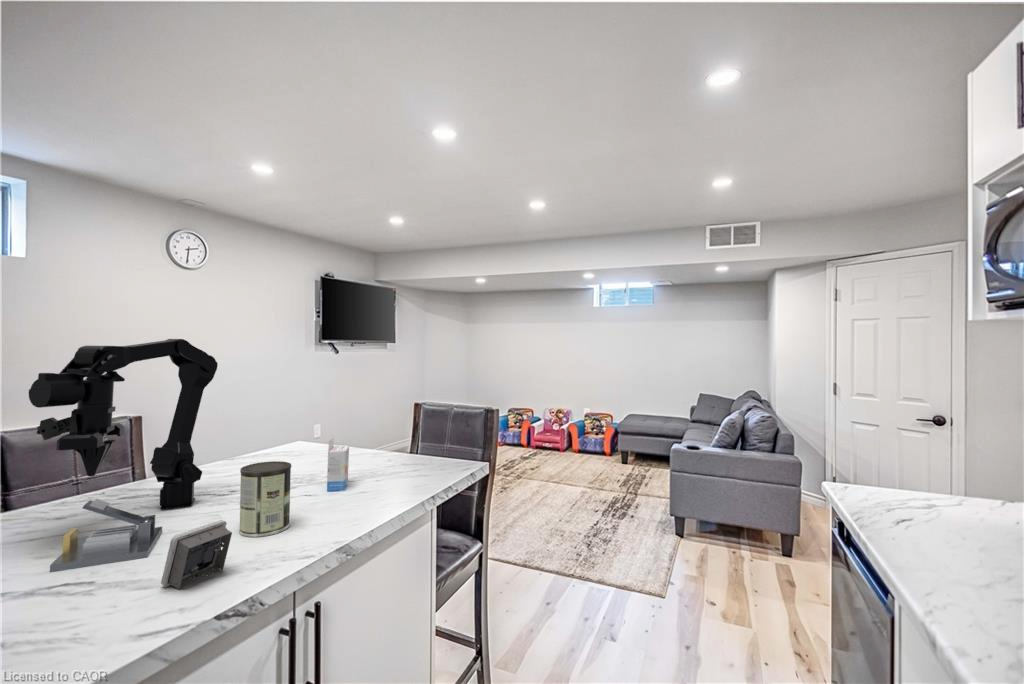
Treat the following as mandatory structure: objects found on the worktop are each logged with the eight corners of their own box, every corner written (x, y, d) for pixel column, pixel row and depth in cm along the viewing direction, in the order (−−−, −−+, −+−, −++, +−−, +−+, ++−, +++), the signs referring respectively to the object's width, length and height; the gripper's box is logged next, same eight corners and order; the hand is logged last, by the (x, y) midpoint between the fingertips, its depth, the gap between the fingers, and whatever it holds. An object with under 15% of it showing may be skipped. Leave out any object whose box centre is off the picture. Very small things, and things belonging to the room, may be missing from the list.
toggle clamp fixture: (162, 532, 102) (163, 508, 102) (147, 557, 90) (148, 530, 90) (78, 543, 95) (79, 517, 96) (49, 572, 83) (51, 542, 83)
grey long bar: (150, 525, 96) (155, 517, 97) (146, 529, 94) (152, 521, 94) (86, 505, 92) (91, 497, 92) (81, 509, 89) (86, 501, 90)
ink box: (344, 491, 134) (346, 440, 134) (326, 492, 133) (327, 440, 133) (348, 483, 142) (349, 435, 143) (331, 483, 141) (332, 435, 142)
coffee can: (265, 518, 112) (267, 459, 112) (299, 523, 108) (301, 463, 109) (227, 533, 102) (229, 469, 102) (263, 540, 98) (265, 473, 99)
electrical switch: (213, 565, 87) (218, 516, 87) (232, 573, 85) (237, 523, 85) (159, 588, 78) (164, 534, 78) (178, 597, 76) (184, 542, 76)
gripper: (64, 400, 105) (60, 469, 104) (22, 408, 88) (17, 491, 88) (126, 399, 110) (123, 465, 109) (98, 407, 93) (94, 485, 93)
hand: (91, 475), depth 100 cm, fingers closed
